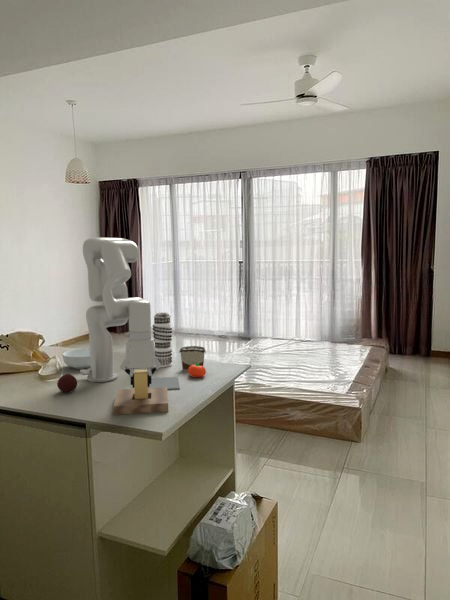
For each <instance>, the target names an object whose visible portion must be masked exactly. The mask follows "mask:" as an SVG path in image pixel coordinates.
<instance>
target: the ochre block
mask: <svg viewBox="0 0 450 600" xmlns="http://www.w3.org/2000/svg"><path fill="white" fill-rule="evenodd" d="M147 375H148V371H147V369H134V388H133V389H134V394H135V399H145V398H148V383H147Z"/></svg>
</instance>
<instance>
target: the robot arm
mask: <svg viewBox="0 0 450 600" xmlns="http://www.w3.org/2000/svg"><path fill="white" fill-rule="evenodd" d="M82 256H83V259H84V261H85V264H86V268H87V282H88V295H89V296H88V297H89V298H90V301H92V302H96V303H98V302H99V303H100V302H101V303H102V302H103V304H98V305H92V306H89V308H87V309H86V311H85V320H86V323H87V327H88V328H87V329H88V338H89V339H88V340H89V349H90V367H89V368H87V369H79V374H80V375H82V376H86V380H87V381H88V382H91V383H105V382H111V381H115V380H116V379H118V377H119V375H118V374H117V372H115V371H114V347H113V344H114V343H113V340H114V339H113V336H112V334H111V332H110V331H109V330H108V329H107V328H110V327H119V326H124V325H126V324H127V323H128V331H127V332H124V337H127V338H128V339H127V340H126V344H125V359H124V360H123V361H122V363H121V364H120V366H119V369H121V370H122V371H123V372H125V373H126V374H127V375H128V376H129V377H130V386H132V389H134V372H135V370H147V371H148V375H147V383H148V387H149V386H150V384H151V378H152V376H153V374H154V373H155V372H156V371H157V370H159V369H160V368H162V367H161V364H160V362H159V361H158V360H157V358H156V357H155V342H154V338H152V322H151V321H152V318H151V316H152V315H151V314H152V313H151V312H152V311H151V302H150V301H148V300H146V299H144V298H142V297H137V296H135V297H133V296H132V297H129V293H128V287H127V284H126V282H127V281H129V279H130V278H131V277H132V270H131V268H130V265H129V263H136V262H137V261H138V259H139V258H140V249H139V247H138V245H137V244H136V243H135V242H134V241H132V240H130V239H126V238H124V237H123V238H122V237H90V238H87V239H85V240H84V242H83V244H82ZM155 364H156V366H155Z"/></svg>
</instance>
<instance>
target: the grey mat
mask: <svg viewBox="0 0 450 600" xmlns="http://www.w3.org/2000/svg"><path fill="white" fill-rule="evenodd" d="M161 387H167V391H174V390H176V391H177V390H180V382H179V377H178V376H166V377H163V376H162V377H151V384H150V386H149V387H148V388H161Z"/></svg>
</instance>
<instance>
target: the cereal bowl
mask: <svg viewBox="0 0 450 600" xmlns="http://www.w3.org/2000/svg"><path fill="white" fill-rule="evenodd" d="M62 359H63V363H64V364H65V365H66V366H68V367H71V368H73V369H76V370H85V369H90V348H77V349H71V350H67V351H65V352H63V353H62ZM84 368H85V369H84Z"/></svg>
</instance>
